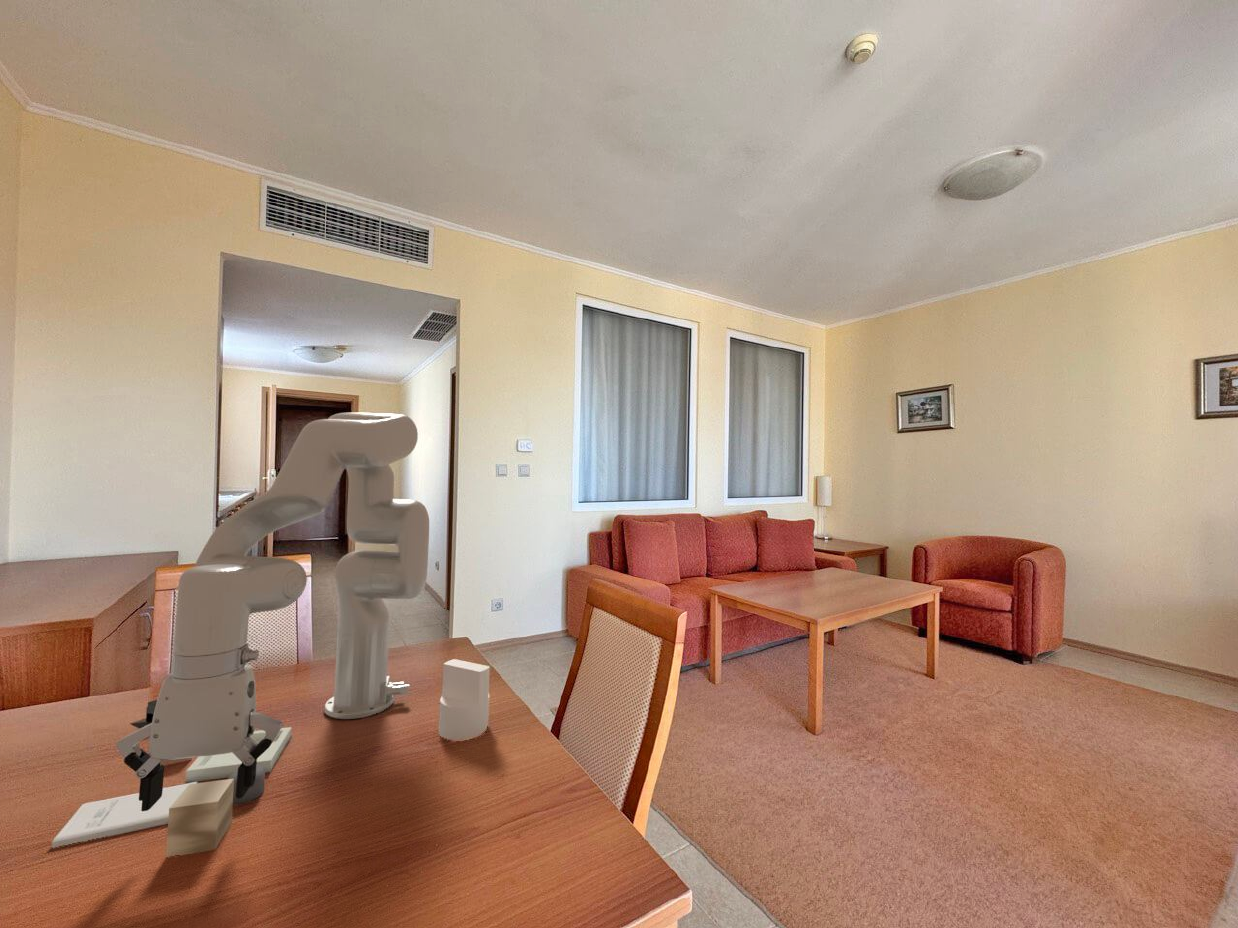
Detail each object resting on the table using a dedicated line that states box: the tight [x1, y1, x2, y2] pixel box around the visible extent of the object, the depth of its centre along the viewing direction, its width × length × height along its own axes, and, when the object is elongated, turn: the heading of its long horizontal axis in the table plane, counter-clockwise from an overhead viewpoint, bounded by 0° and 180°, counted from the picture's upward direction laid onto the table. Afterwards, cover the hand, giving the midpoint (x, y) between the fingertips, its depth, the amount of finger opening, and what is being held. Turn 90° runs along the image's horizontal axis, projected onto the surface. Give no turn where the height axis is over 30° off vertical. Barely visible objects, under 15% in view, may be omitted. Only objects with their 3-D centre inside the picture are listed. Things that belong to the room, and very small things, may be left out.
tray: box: [185, 726, 293, 784], centre depth 83 cm, size 11×11×2 cm
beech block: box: [165, 778, 234, 858], centre depth 65 cm, size 5×5×6 cm
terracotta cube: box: [160, 757, 194, 767], centre depth 83 cm, size 4×4×4 cm
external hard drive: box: [51, 781, 199, 849], centre depth 69 cm, size 2×8×12 cm
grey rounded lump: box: [227, 766, 266, 805], centre depth 74 cm, size 4×4×3 cm
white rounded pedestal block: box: [438, 658, 491, 740], centre depth 95 cm, size 9×9×12 cm
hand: (198, 798), depth 64 cm, fingers open, 9 cm apart
